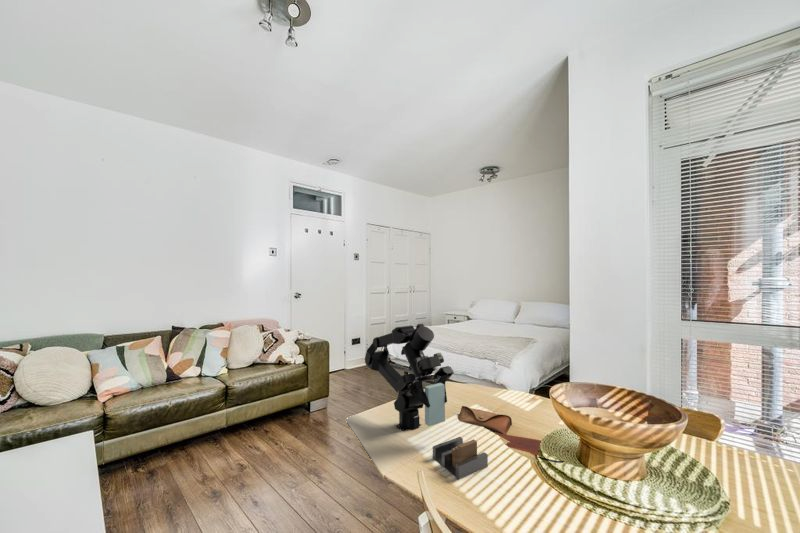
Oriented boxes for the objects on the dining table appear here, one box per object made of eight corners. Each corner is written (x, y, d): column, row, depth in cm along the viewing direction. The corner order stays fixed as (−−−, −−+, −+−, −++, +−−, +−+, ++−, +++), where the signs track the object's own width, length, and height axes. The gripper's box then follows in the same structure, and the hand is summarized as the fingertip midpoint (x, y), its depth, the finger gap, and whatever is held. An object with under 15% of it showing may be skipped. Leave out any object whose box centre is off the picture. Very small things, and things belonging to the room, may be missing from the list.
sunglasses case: (453, 423, 111) (456, 402, 114) (459, 426, 116) (462, 406, 119) (507, 435, 102) (509, 413, 105) (511, 438, 107) (512, 417, 110)
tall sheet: (425, 423, 95) (424, 386, 96) (440, 418, 98) (440, 382, 99) (429, 426, 94) (428, 388, 94) (445, 421, 97) (444, 384, 97)
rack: (432, 460, 89) (432, 446, 89) (460, 450, 94) (459, 436, 94) (458, 482, 79) (458, 466, 80) (487, 469, 85) (487, 454, 85)
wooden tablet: (563, 447, 96) (563, 442, 96) (565, 466, 87) (565, 460, 87) (474, 430, 107) (474, 425, 107) (467, 444, 98) (467, 439, 98)
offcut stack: (452, 465, 85) (451, 441, 85) (467, 459, 88) (467, 435, 88) (461, 473, 82) (460, 447, 82) (477, 466, 85) (476, 441, 85)
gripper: (401, 348, 95) (422, 398, 85) (449, 341, 105) (474, 385, 95) (388, 368, 102) (407, 416, 92) (435, 359, 111) (456, 402, 102)
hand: (437, 404), depth 95 cm, fingers closed on tall sheet, 6 cm apart
